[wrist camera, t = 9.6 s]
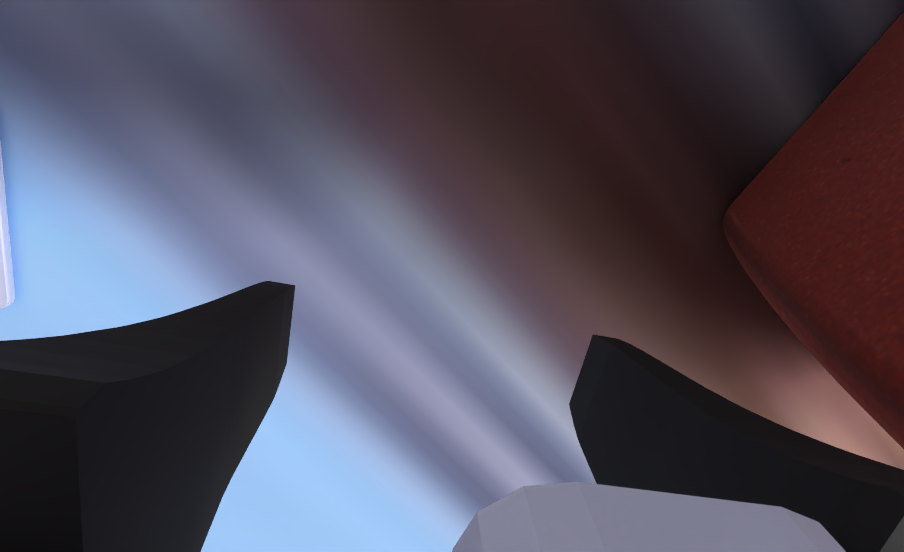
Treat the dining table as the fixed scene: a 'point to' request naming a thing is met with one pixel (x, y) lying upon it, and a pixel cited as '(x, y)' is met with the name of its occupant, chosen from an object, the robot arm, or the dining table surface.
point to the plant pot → (839, 232)
